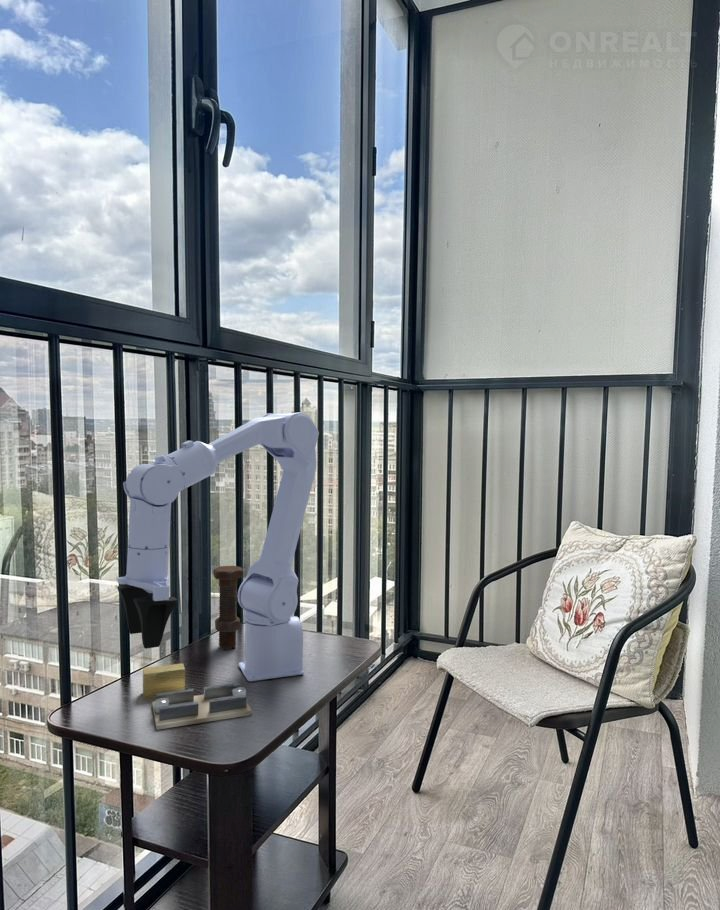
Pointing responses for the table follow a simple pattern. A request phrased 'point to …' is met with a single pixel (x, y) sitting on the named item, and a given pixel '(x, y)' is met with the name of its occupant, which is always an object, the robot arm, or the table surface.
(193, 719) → the plywood plate
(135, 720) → the table surface
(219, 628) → the bolt
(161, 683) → the khaki rectangular block
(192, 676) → the table surface
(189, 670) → the table surface
